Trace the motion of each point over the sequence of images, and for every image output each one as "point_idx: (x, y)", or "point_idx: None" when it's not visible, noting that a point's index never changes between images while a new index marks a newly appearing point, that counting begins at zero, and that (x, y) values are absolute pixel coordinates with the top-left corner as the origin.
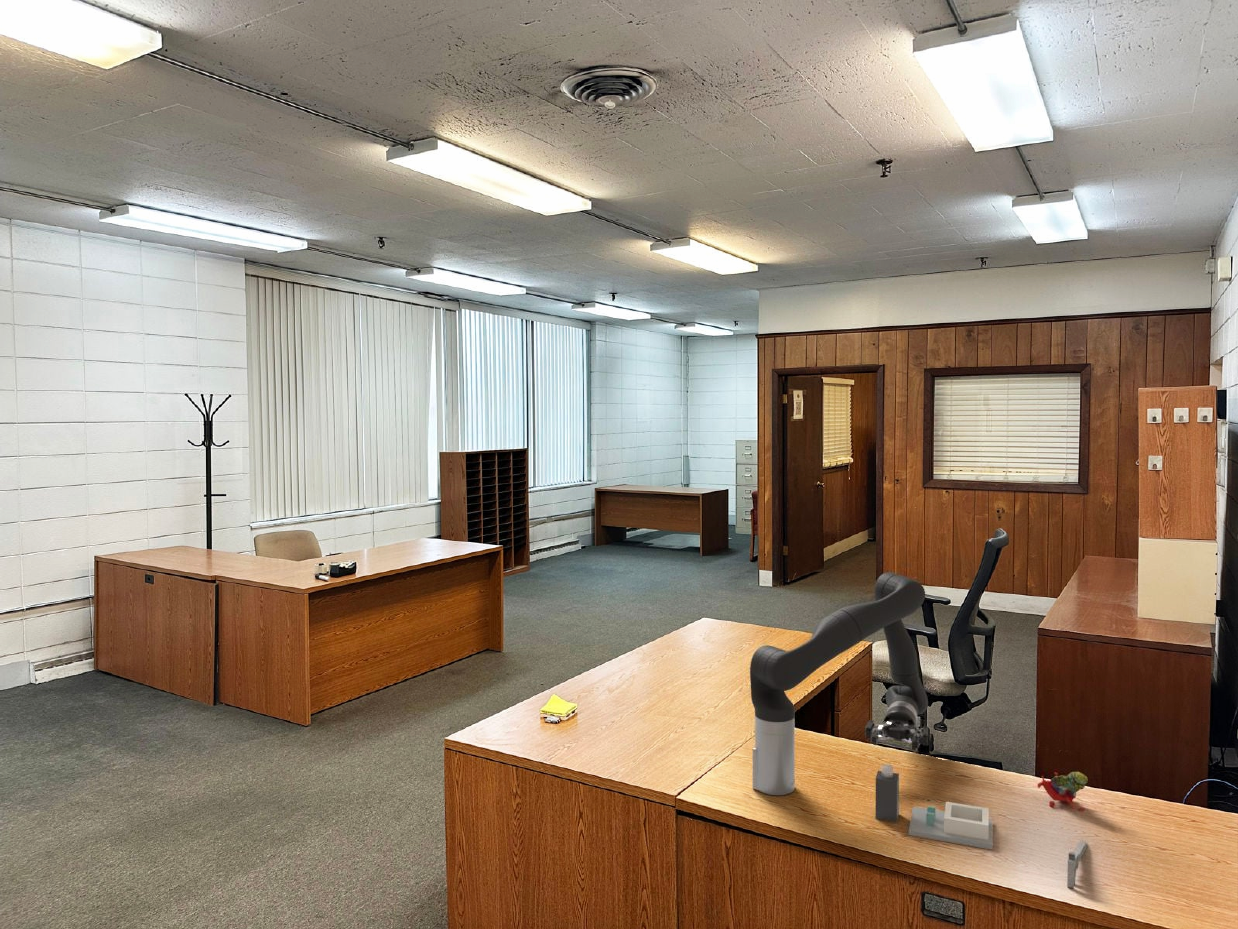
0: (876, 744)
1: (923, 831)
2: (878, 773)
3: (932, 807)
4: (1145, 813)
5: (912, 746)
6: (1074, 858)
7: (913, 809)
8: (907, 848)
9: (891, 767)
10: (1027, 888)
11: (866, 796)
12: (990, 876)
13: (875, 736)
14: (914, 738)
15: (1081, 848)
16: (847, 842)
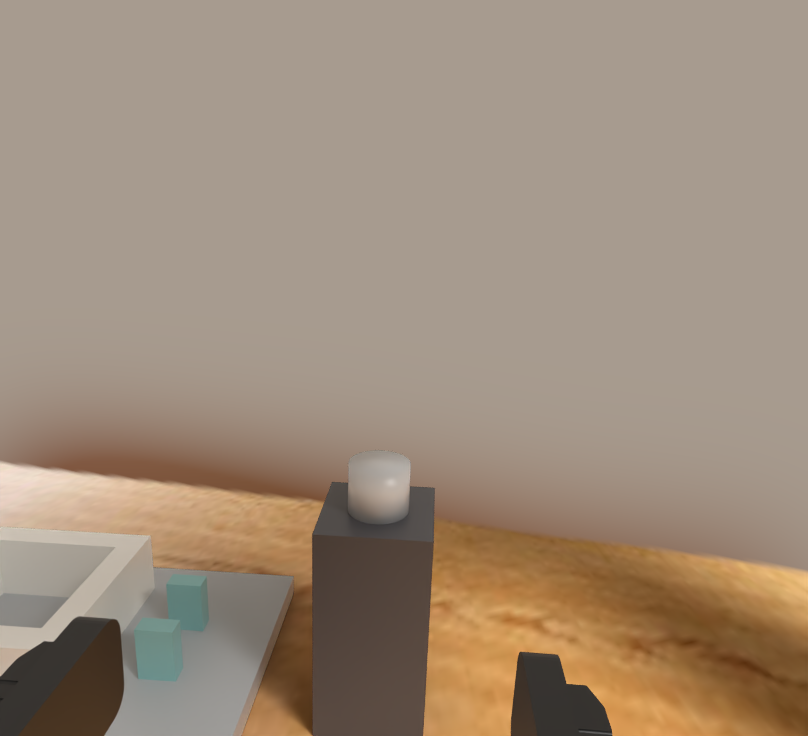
0: (512, 729)
1: (237, 578)
2: (426, 519)
3: (152, 622)
4: None
5: (117, 657)
6: None
7: (229, 733)
8: (310, 537)
9: (357, 459)
10: (42, 472)
11: None
12: (111, 487)
13: (533, 653)
14: (39, 674)
15: None
16: (491, 530)
